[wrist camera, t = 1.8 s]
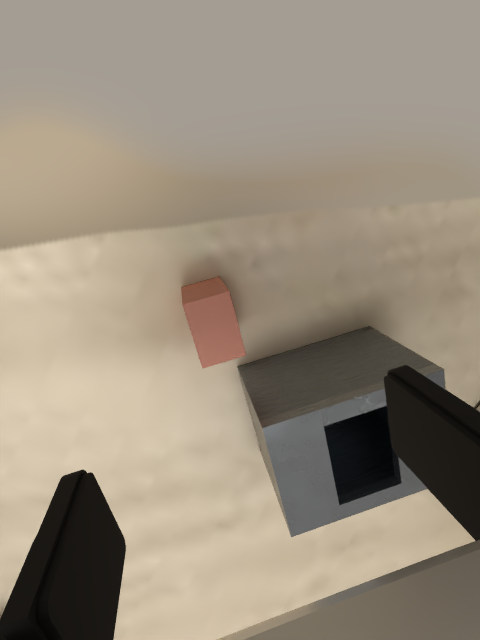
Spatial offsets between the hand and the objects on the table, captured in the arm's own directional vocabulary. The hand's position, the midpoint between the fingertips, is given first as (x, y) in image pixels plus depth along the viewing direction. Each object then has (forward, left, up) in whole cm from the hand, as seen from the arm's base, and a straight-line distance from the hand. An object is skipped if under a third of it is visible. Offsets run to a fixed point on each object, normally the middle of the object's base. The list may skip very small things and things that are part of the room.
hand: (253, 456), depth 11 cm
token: (0, 0, -18) cm, 18 cm away
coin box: (-7, +10, -18) cm, 22 cm away
